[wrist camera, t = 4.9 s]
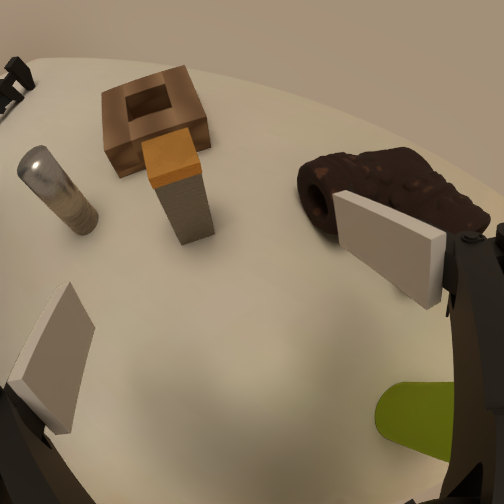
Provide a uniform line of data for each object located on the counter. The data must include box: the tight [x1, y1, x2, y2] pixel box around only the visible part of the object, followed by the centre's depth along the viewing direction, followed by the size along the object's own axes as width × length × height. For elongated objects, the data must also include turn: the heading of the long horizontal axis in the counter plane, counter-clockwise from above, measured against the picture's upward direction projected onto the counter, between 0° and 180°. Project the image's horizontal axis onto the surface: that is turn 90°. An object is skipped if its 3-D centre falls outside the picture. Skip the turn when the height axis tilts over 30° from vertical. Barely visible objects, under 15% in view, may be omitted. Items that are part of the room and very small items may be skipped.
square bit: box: [141, 127, 215, 245], centre depth 25 cm, size 4×4×11 cm
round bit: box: [17, 145, 98, 235], centre depth 25 cm, size 3×3×11 cm
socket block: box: [102, 65, 211, 178], centre depth 32 cm, size 11×11×5 cm
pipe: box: [297, 147, 491, 235], centre depth 27 cm, size 10×15×15 cm
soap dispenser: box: [375, 382, 454, 463], centre depth 14 cm, size 6×7×20 cm
